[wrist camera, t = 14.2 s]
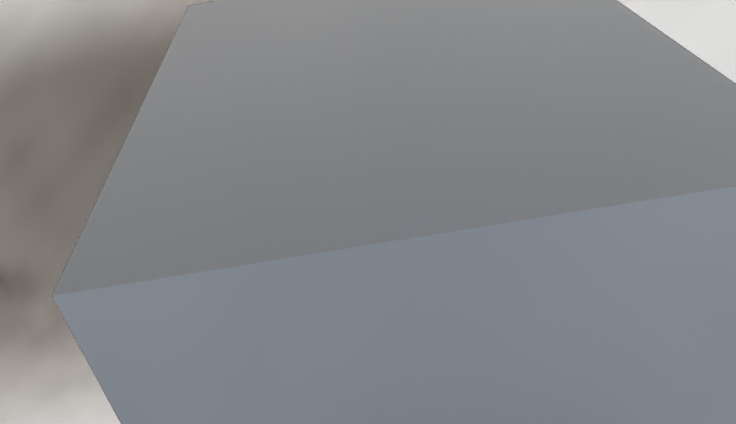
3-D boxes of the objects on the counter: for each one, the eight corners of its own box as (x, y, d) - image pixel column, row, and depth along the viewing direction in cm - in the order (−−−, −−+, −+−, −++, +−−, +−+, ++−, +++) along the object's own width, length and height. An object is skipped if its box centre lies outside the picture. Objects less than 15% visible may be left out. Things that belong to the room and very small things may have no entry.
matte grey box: (543, -52, 13) (854, 166, 6) (534, 356, 20) (674, 696, 12) (188, 5, 13) (51, 295, 6) (299, 393, 20) (301, 757, 12)
